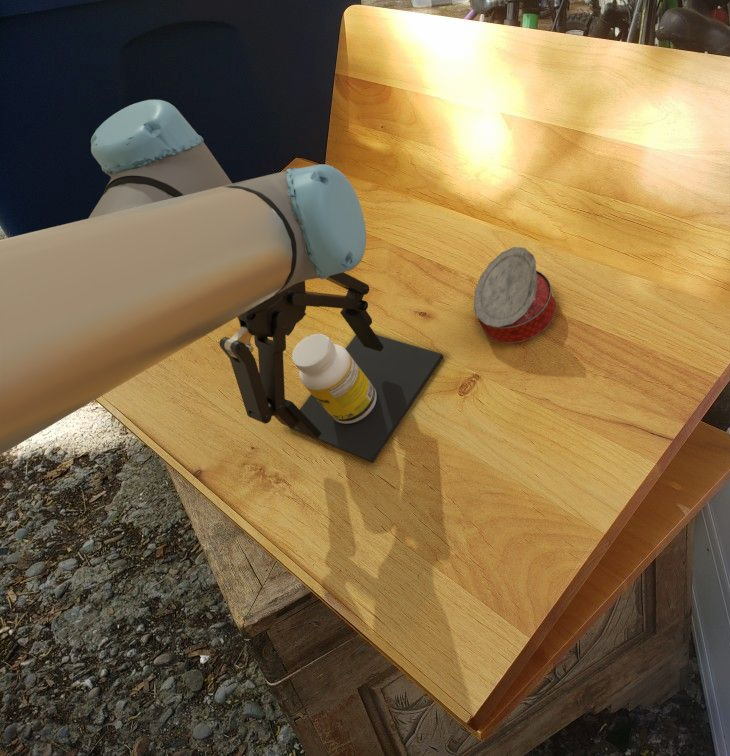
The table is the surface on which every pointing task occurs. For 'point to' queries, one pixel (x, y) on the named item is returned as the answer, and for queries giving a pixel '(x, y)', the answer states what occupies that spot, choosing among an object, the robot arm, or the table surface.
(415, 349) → the mat
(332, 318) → the table surface
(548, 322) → the canned food
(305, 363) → the pill bottle
